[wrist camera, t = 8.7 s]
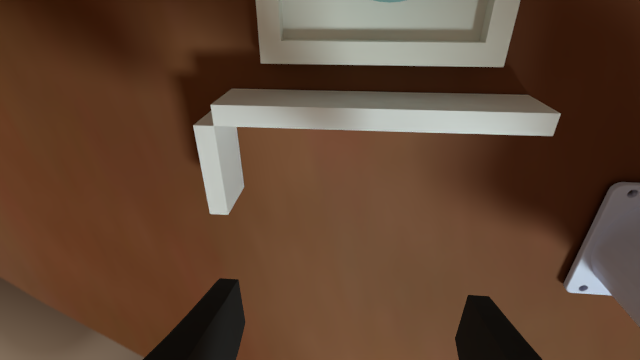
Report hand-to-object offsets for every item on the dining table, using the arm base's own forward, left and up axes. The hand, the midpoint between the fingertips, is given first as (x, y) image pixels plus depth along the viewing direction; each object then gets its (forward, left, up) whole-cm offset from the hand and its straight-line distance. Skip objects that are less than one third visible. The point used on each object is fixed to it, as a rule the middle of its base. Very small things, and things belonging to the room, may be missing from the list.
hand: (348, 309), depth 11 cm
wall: (-1, -2, -10) cm, 10 cm away
